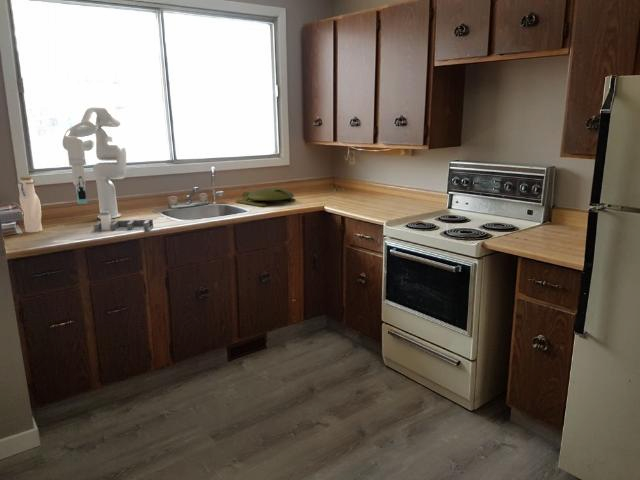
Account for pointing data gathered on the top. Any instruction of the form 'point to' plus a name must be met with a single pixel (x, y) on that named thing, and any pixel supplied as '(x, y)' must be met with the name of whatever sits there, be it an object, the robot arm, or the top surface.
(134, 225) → the comb rack
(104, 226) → the white plug
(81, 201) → the teal plug
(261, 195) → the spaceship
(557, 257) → the top surface
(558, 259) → the top surface
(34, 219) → the water bottle
